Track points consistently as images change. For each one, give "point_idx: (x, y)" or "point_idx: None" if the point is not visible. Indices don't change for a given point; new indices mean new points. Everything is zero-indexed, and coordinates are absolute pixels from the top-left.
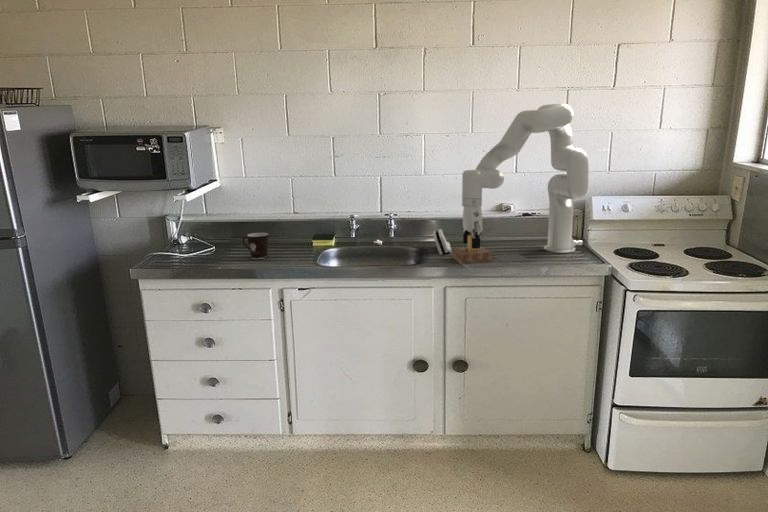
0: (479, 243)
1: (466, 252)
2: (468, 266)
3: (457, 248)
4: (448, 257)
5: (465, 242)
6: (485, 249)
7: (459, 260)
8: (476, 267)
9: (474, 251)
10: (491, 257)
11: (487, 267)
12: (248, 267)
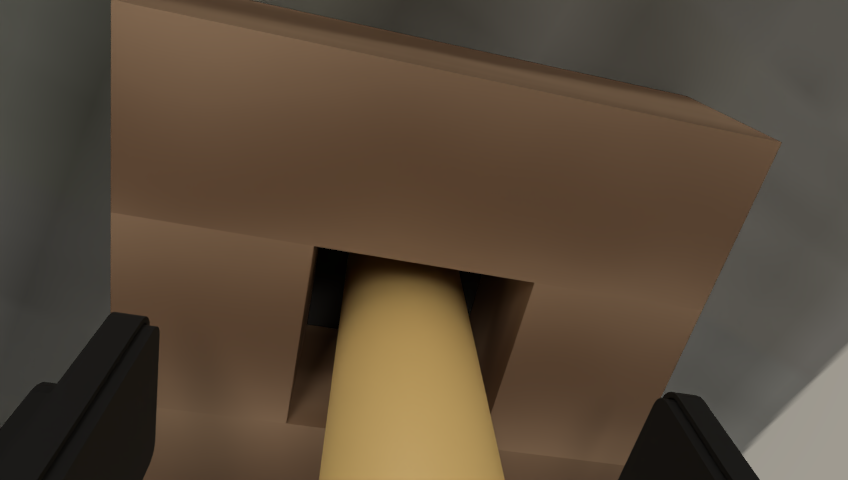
0: (738, 473)
1: None
2: None
3: (156, 468)
4: None
5: (151, 444)
6: (477, 89)
7: None
8: (737, 381)
9: (469, 328)
10: (727, 116)
11: (831, 280)
12: None
